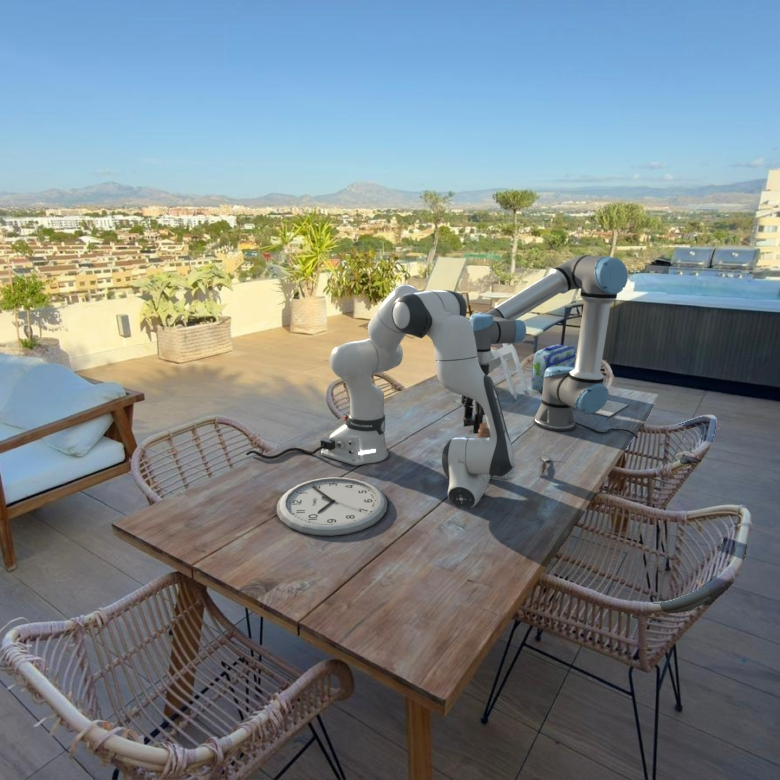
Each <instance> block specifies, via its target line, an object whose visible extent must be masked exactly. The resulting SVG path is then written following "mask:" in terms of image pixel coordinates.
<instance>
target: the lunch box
mask: <svg viewBox="0 0 780 780" xmlns="http://www.w3.org/2000/svg"><path fill="white" fill-rule="evenodd" d="M576 356H577V354H576V347H575V346H569V345H565V344H554V345H550V346H547V347H544V348H542V349H541V348H540V349H539V350H537V351H536V352H535V353H534V356H533V360H532V367H531V368H532V369H531V382H530V383H531V386H530V387H531V389H532V390H533V391H537V392H542V391H543V381H544V374H545V370H546V369H547V368H549V367H556V366H565V367H574V368H575V363H576Z"/></svg>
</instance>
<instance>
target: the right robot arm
mask: <svg viewBox="0 0 780 780" xmlns="http://www.w3.org/2000/svg"><path fill="white" fill-rule="evenodd" d="M628 279H629V273H628V269H627V267H626V264H624V262H623V261H622V260H621V259H619V258H617V257H612V256H608V255H605V256H603V255H590V254H582V255H578V256H574V257H572V258H571V259H569V260H566V261H564V262H563V263H561V264H559V265H557V266H555V267H554V268H552V269H550V270H549V273H548V275H546V276H544V277H543V278H541V279H539V280H538V281H536V282H534V283H533V284H531V285H530V286H528V287H526V288H525V289H523V290H521V291H520V292H518V293H516V294H515V295H513V296H511V297H510V298H508V299H506V300H504V301H503V302H502V303H500V304H497V306H495V307H494V308H492V309H490V310H488V311H480V312H476V313H473V314H471V315H470V317H469V321H470V322H471V325H472V328H473V332H474V336H475V341H476V347H477V355H478V362H479V365H480V367H481V369H482V371H483V372H484V374H485V375H487V376H489V374H490V373H489V364H488V363H489V362H490V351H491V348H492V345H497V344H498V345H502V343H507V344H512V345H513V344H517V343H521V342H524V340H525V339H526V336H527V326H526V324H525V322H524V321H523V320H522V319H519V318H521V317H523V316H524V315H526V314H528V313H529V312H531V311H533V310H534V309H536V308H538V307H540V306H541V305H543V304H544V303H546V302H548V301H549V300H551V299H552V298H554V297H555V296H557V295H559V294H563V295H564V294H566V293H567V292H569V291H572V290H577V289H578V290H580V295H579V296H580V298H581V299H582V300H583V306H582V313H581V314H582V315H581V320H580V327H579V335H578V343H577V349H576V356H575V365H574V367H565V366H556V367H549V368H547V369H546V370H545V374H544V381H543V391H541V393H542V394H541V402H540V405H539V407H538V410H537V411H536V413H535V416H534V424H535V425H536V426H537V427H539V428H542V429H544V430H549V431H556V432H567V431H572V430H574V429H575V428H576V425H577V426H580V427H583V428H585V429H587V430H591V431H593V432H595V433H597V434H607V433H609V432H611V431H618V432H625V433H629V434H631V435H632V436H634V438H636V439H639V437H638V435H637V434H636V433H634V432H633V431H632V430H629V429H626V428H609V429H607V430H605V431H600V430H597V429H595V428H593V427H591V426H587V425H586V424H582V423H580V422H577V421H576V418H575V417H576V416H575V413H574V409H575V410H576V411H577V412H580V413H584V414H588V415H590V414H596V413H595V412H597V411H599V410H600V409H601V408H602V407H603V406H604V405H605V404H606V402H607V400H609V396H610V395H609V394H610V393H609V389H608V388H607V386H606V385H604V380H605V375H604V374H603V373H602V371H601V369H602V363H603V355H604V351H605V350H604V349H605V344H606V338H607V337H606V336H607V330H608V325H609V318H610V311H611V304H612V303H613V302H614V301H616V300H617V297H618V294H620V293H621V292H622V291H623V290H624V288H625V287H626V285H627V283H628ZM460 402H461V404H462V405H463V407H464V411H463V413H464V414H463V416H464V415H467V414H474V426H472V428H473V429H472V433H473V434H474V435H475V434H476V435H477V434H478V429H480V424H481V423H483V421H484V416H485V413H484V410H483V408H482V406H481V405H480V404H479V403H478V402H476V401H475V400H473V399H471V398H469V397H466V396H463V395H461V401H460ZM473 402H474V404H475V413H474V412H473V411H474V404H473ZM463 427H471V426H470V425H467V424H465V423H464V422H463Z"/></svg>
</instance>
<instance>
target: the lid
mask: <svg viewBox="0 0 780 780" xmlns="http://www.w3.org/2000/svg"><path fill="white" fill-rule="evenodd" d="M474 414H475V413H473V414H467V415H464V414H463V424H464V423H465V424H467V425H470V426H469V427H474Z"/></svg>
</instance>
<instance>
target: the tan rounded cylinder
mask: <svg viewBox="0 0 780 780" xmlns="http://www.w3.org/2000/svg"><path fill="white" fill-rule="evenodd" d="M487 437H490V433H489V429H488V425H487V422H482V423H481V424H480V429H478V433H477V438H487Z"/></svg>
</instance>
